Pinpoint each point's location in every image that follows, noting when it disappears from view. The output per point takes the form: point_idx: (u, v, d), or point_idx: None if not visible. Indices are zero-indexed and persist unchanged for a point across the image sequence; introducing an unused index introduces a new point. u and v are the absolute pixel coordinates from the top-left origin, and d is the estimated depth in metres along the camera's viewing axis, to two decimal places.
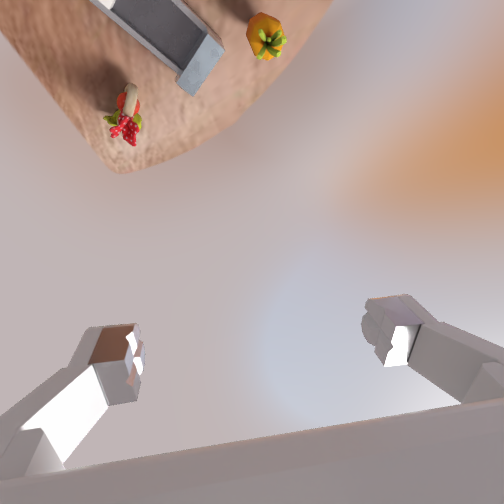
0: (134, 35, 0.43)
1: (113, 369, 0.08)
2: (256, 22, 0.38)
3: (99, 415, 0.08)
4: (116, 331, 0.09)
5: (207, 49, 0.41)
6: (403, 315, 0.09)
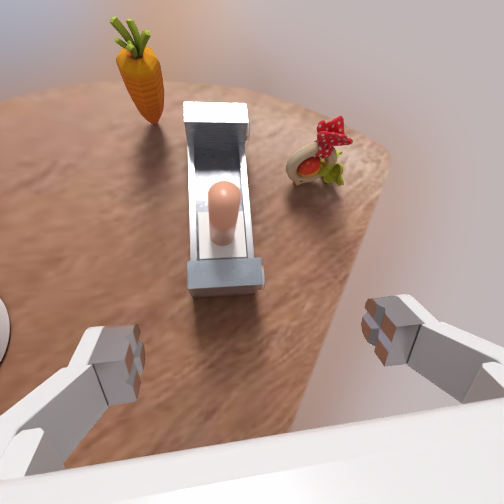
0: (246, 191, 0.40)
1: (113, 369, 0.08)
2: (135, 79, 0.34)
3: (99, 415, 0.08)
4: (116, 331, 0.09)
5: (196, 114, 0.37)
6: (403, 315, 0.09)
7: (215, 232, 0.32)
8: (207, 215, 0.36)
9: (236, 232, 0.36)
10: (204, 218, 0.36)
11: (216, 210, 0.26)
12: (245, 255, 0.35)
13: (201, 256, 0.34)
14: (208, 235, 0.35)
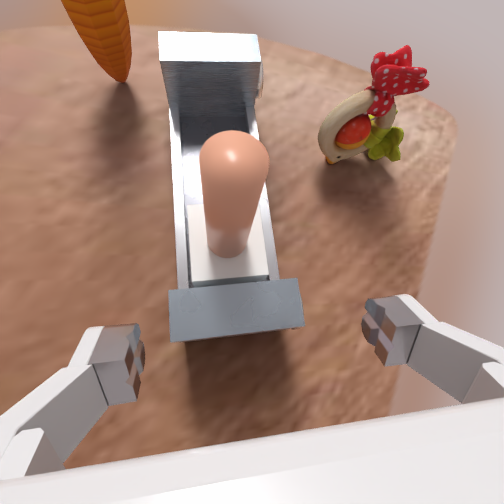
0: None
1: (113, 369, 0.08)
2: None
3: (99, 415, 0.08)
4: (116, 331, 0.09)
5: (179, 50, 0.23)
6: (403, 315, 0.09)
7: (216, 238, 0.18)
8: (202, 209, 0.22)
9: (250, 235, 0.22)
10: (197, 214, 0.22)
11: (218, 191, 0.12)
12: (266, 272, 0.21)
13: (194, 277, 0.21)
14: (205, 242, 0.22)
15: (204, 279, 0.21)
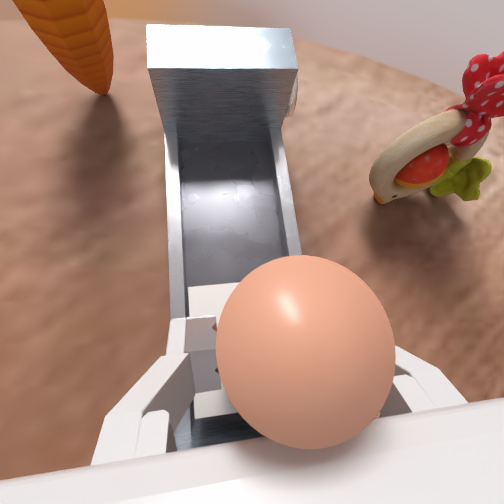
0: (292, 225, 0.18)
1: (206, 357, 0.08)
2: None
3: (189, 402, 0.09)
4: (200, 322, 0.09)
5: (177, 52, 0.15)
6: None
7: None
8: (211, 294, 0.15)
9: None
10: (204, 302, 0.15)
11: (265, 430, 0.05)
12: None
13: (199, 411, 0.13)
14: None
15: (214, 414, 0.13)
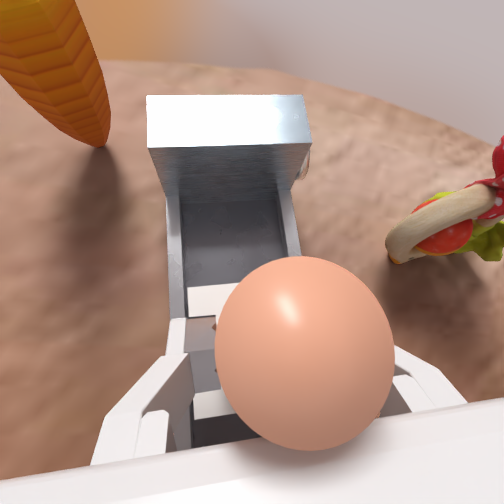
0: None
1: (205, 357, 0.08)
2: None
3: (189, 402, 0.09)
4: (200, 322, 0.09)
5: (180, 127, 0.14)
6: None
7: None
8: (210, 294, 0.15)
9: None
10: (203, 302, 0.15)
11: (265, 432, 0.05)
12: None
13: (198, 412, 0.13)
14: None
15: (214, 414, 0.13)
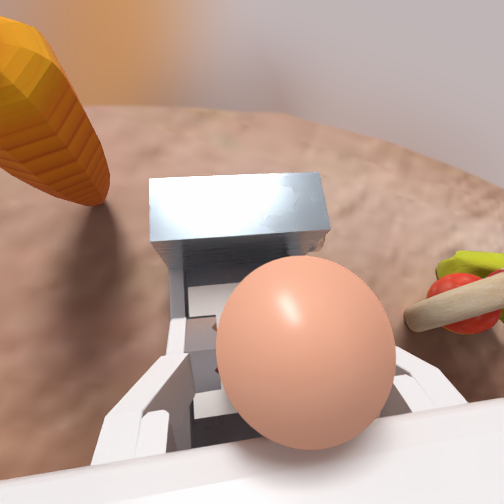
0: None
1: (206, 358, 0.08)
2: None
3: (189, 402, 0.09)
4: (200, 322, 0.09)
5: (186, 216, 0.13)
6: None
7: None
8: (211, 294, 0.15)
9: None
10: (204, 302, 0.15)
11: (265, 431, 0.05)
12: None
13: (198, 411, 0.13)
14: None
15: (214, 414, 0.13)
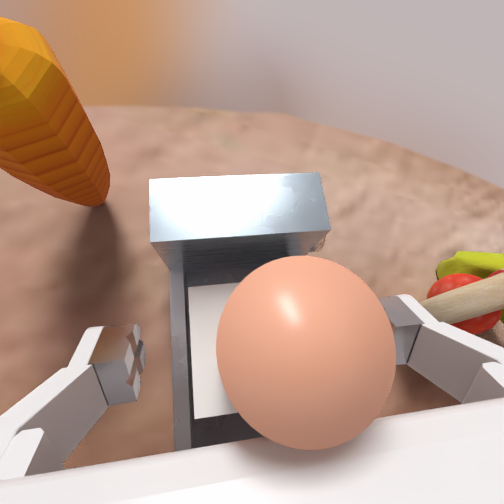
0: None
1: (113, 369, 0.08)
2: None
3: (99, 415, 0.08)
4: (116, 331, 0.09)
5: (186, 216, 0.13)
6: (403, 315, 0.09)
7: None
8: (211, 294, 0.15)
9: None
10: (204, 302, 0.15)
11: (265, 431, 0.05)
12: None
13: (199, 411, 0.13)
14: (215, 348, 0.14)
15: (214, 414, 0.13)
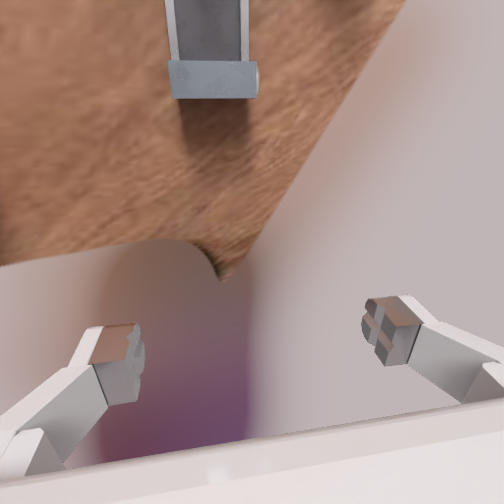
0: None
1: (113, 369, 0.08)
2: None
3: (99, 415, 0.08)
4: (116, 331, 0.09)
5: None
6: (403, 315, 0.09)
7: None
8: None
9: None
10: None
11: None
12: None
13: None
14: None
15: None
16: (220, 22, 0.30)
